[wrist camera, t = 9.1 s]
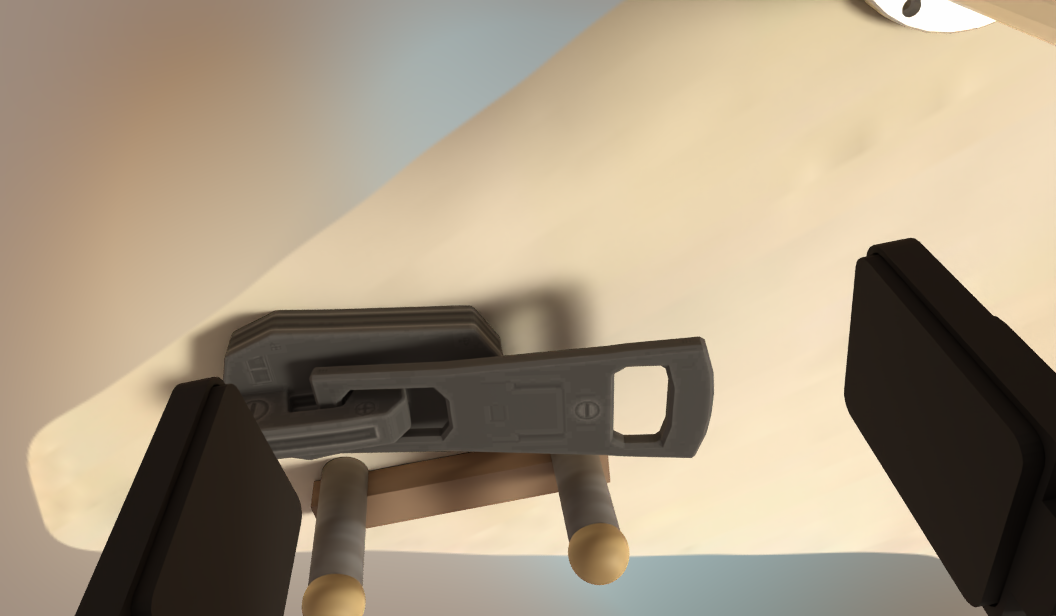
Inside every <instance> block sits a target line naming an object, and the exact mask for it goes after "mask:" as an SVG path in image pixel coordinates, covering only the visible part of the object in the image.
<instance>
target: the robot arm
mask: <svg viewBox="0 0 1056 616" xmlns="http://www.w3.org/2000/svg"><path fill="white" fill-rule="evenodd" d="M865 2H866V3H867V4H868V5H870V6H871V7H872V8H874V9H875V10H876V11H878V12H879V13H880V14H882V15H883V16H884V17H886V18H888V19H890V20H892V21H894V22H896V23H898V24H900V25H902V26H904V27H908V28H911V29H915V30H919V31H922V32H926V33H956V32H962V31H968V30H973V29H978V28H981V27H983V26H986V25H989V24H992V23H995V22H1000V23H1002V24H1004V25H1007V26H1009V27H1012V28H1014V29H1016V30H1019V31H1021V32H1024V33H1026V34H1028V35H1031V36H1033V37H1036V38H1038V39H1040V40H1043V41H1045V42H1048V43H1050V44H1052V45H1055V46H1056V0H865ZM903 4H904V5H903ZM844 397H845V402H846V406H847V409H848V412H849V414H850V415H851V417H852V419H853V420H854V422H855V424H856V425H857V427H858V428H859V430H860V432H861V433H862V435H863V436H864V438H865V440H866V441H867V443H868V444H869V446H870V448H871V449H872V451H873V452H874V454H875V456H876V457H877V459H878V461H879V462H880V464H881V465H882V467H883V469H884V470H885V472H886V473H887V475H888V477H889V478H890V480H891V481H892V483H893V485H894V486H895V488H896V489H897V491H898V493H899V494H900V496H901V497H902V499H903V501H904V502H905V504H906V505H907V507H908V509H909V510H910V512H911V513H912V515H913V517H914V518H915V520H916V521H917V523H918V525H919V526H920V528H921V529H922V531H923V533H924V534H925V536H926V537H927V539H928V541H929V542H930V544H931V546H932V547H933V549H934V550H935V552H936V554H937V555H938V557H939V558H940V560H941V561H942V563H943V565H944V566H945V568H946V570H947V571H948V573H949V574H950V576H951V578H952V579H953V581H954V582H955V584H956V586H957V587H958V589H959V590H960V592H961V593H962V595H963V597H964V598H965V599H966V601H967V602H968V603H970V605H972V606H974V607H979V606H983V608H984V610H985V611H986V613H987V614H988V616H1056V373H1055V372H1054V371H1053V370H1052V369H1051V368H1050V367H1049V366H1048V365H1047V364H1046V363H1045V362H1044V361H1043V360H1042V359H1041V358H1040V357H1039V356H1038V355H1037V354H1036V353H1035V352H1034V351H1033V350H1032V349H1031V348H1030V347H1029V346H1028V345H1027V344H1026V343H1025V342H1024V341H1023V340H1022V339H1021V338H1020V337H1019V336H1018V335H1017V334H1016V333H1015V332H1014V331H1013V330H1012V329H1011V328H1010V327H1009V326H1008V325H1007V324H1006V323H1005V322H1003V321H1002V320H1001V319H999V318H998V317H996V316H993V315H992V314H991V313H990V312H989V311H988V310H987V309H986V308H985V307H984V306H983V305H982V304H981V303H980V302H979V301H978V300H977V299H976V298H975V297H974V296H973V295H972V294H971V293H970V292H969V291H968V290H967V289H966V288H965V287H964V286H963V285H962V284H961V283H960V282H959V281H958V280H957V279H956V278H955V277H954V276H953V275H952V274H951V273H950V272H949V271H948V270H947V269H946V268H945V267H944V266H943V265H942V264H941V263H940V262H939V261H938V260H937V259H936V258H935V257H934V256H933V255H932V254H931V253H930V252H929V251H928V250H927V249H926V248H925V247H924V246H923V245H922V244H921V243H920V242H919V241H918V240H916V239H915V238H907V239H902V240H897V241H892V242H887V243H882V244H877V245H873V246H871V247H870V248H869V250H868V252H867V256H866V257H862V258H860V259H858V261H857V263H856V269H855V280H854V290H853V301H852V312H851V322H850V333H849V344H848V354H847V365H846V376H845V386H844ZM301 519H302V510H301V504H300V501H299V498H298V496H297V494H296V492H295V490H294V489H293V487H292V485H291V483H290V481H289V480H288V478H287V476H286V474H285V472H284V471H283V469H282V467H281V465H280V463H279V462H278V460H277V458H276V456H275V454H274V453H273V451H272V449H271V447H270V445H269V444H268V442H267V440H266V438H265V436H264V435H263V433H262V431H261V429H260V427H259V426H258V424H257V422H256V420H255V418H254V417H253V415H252V413H251V411H250V409H249V408H248V406H247V404H246V402H245V400H244V399H243V397H242V395H241V393H240V391H239V390H238V388H237V387H236V386H235V385H234V384H225V383H224V381H223V380H222V379H220V378H219V377H211V378H206V379H201V380H196V381H191V382H186V383H181V384H179V385H177V386H176V387H175V388H174V390H173V391H172V394H171V396H170V398H169V401H168V403H167V405H166V408H165V410H164V412H163V414H162V417H161V419H160V421H159V424H158V426H157V428H156V431H155V433H154V435H153V437H152V440H151V442H150V444H149V447H148V449H147V451H146V453H145V456H144V458H143V460H142V463H141V465H140V467H139V470H138V472H137V474H136V476H135V479H134V481H133V483H132V486H131V488H130V490H129V492H128V495H127V497H126V499H125V502H124V504H123V506H122V509H121V511H120V513H119V515H118V518H117V520H116V522H115V525H114V527H113V529H112V532H111V534H110V536H109V538H108V541H107V543H106V545H105V548H104V550H103V552H102V554H101V557H100V559H99V561H98V564H97V566H96V568H95V571H94V573H93V575H92V577H91V580H90V582H89V584H88V587H87V589H86V591H85V593H84V596H83V598H82V600H81V603H80V605H79V607H78V610H77V612H76V614H75V616H283V615H284V610H285V605H286V599H287V594H288V589H289V584H290V578H291V573H292V568H293V563H294V557H295V552H296V547H297V542H298V536H299V531H300V526H301Z"/></svg>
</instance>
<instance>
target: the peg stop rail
mask: <svg viewBox="0 0 1056 616" xmlns="http://www.w3.org/2000/svg"><path fill="white" fill-rule="evenodd" d="M609 482H610V473H609V462H608V455H579V454H543V453H506V452H469V453H464V454H459V455H453V456H448V457H443V458H437V459H432V460H427V461H421V462H416V463H411V464H405V465H400V466H394V467H389V468H384V469H378V470H373V471H368V468H367V466H366V465H365V464H364V463H363V462H361V461H360V460H358V459H355V458H350V457H341V458H336V459H333V460H331V461H329V462H328V463H327V464H326V465H325V466H324V467H323V470H322V476H321V480H319V481H314V486H313V494H312V502H311V509H312V511H313V513H314V515H315V517H316V525H315V534H314V542H313V550H312V558H311V567H310V575H309V583H308V588H307V589H306V591H305V593H304V596H303V600H302V613H303V616H362V615H363V612H364V609H365V593H364V590H363V587H362V586H363V567H364V549H365V531H366V528H371V527H376V526H382V525H387V524H392V523H397V522H403V521H408V520H413V519H419V518H424V517H429V516H434V515H440V514H445V513H450V512H456V511H461V510H466V509H471V508H477V507H482V506H487V505H493V504H498V503H503V502H509V501H514V500H519V499H524V498H530V497H535V496H540V495H546V494H551V493H556V492H559V496H560V501H561V506H562V511H563V515H564V520H565V525H566V530H567V534H568V539H569V547H568V557H569V561H570V564H571V567H572V569H573V570H574V572H575V573H576V574H577V575H578V576H579V577H580V578H581V579H583V580H584V581H586V582H588V583H591V584H594V585H604V584H609V583H611V582H613V581H615V580H617V579H618V578H619V577H620V576H621V575H622V574H623V572H624V571H625V569H626V567H627V564H628V561H629V547H628V543H627V540H626V538H625V536H624V535H623V534H622V532H621V531H620V528H619V525H618V521H617V518H616V514H615V511H614V507H613V503H612V500H611V496H610V493H609V489H608V486H607V483H609Z"/></svg>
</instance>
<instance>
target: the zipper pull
mask: <svg viewBox="0 0 1056 616" xmlns="http://www.w3.org/2000/svg"><path fill="white" fill-rule="evenodd" d="M660 365H661V366H662V367H664V368H666V371H667V375H668V391H667V405H666V417H665V419H664V421H663V424H662V426H661V429H660V431H659V432H657V433H656V434H644V435H622V434H620V433H618V432H616V431H614V430H613V414H614V374H615V373H616V372H618V371H620V370H622V369H624V368H625V367H632V366H660ZM223 381H224V383H225V384H234V385H235V386H236V387H237V388H238V390H239V391H240V393H241V395H242V397H243V399H244V400H245V402H246V404H247V406H248V408H249V409H250V411H251V413H252V415H253V417H254V418H255V420H256V422H257V424H258V426H259V427H260V429H261V431H262V433H263V435H264V436H265V438H266V440H267V442H268V444H269V445H270V447H271V449H272V451H273V453H274V454H275V456H276V458H277V459H283V458H299V459H306V460H312V459H317V458H321V457H326V456H330V455H335V454H339V453H378V452H428V451H469V452H506V453H543V454H579V455H612V456H635V457H676V458H692V457H694V456H695V454H696V452H697V450H698V449H699V447H700V445H701V443H702V441H703V439H704V437H705V435H706V433H707V429H708V425H709V421H710V417H711V412H712V405H713V396H714V375H713V369H712V365H711V361H710V358H709V354H708V350H707V346H706V343H705V339H703V338H701V337H690V338H679V339H668V340H657V341H646V342H636V343H625V344H617V345H610V346H600V347H590V348H579V349H569V350H559V351H548V352H538V353H527V354H517V355H507V356H503V353H502V347H501V341H500V337H499V336H498V334H497V333H496V332H495V331H494V330H493V329H492V328H491V327H490V325H489V324H488V323H487V322H486V321H485V320H484V319H483V317H482V316H481V315H480V314H479V313H478V312H477V311H476V310H475V308H474V307H472V306H431V307H399V308H367V309H335V310H277V311H274V312H272V313H270V314H268V315H266V316H264V317H262V318H260V319H258V320H256V321H254V322H253V323H251V324H249V325H247V326H245V327H243V328H241V329H239V330H237V331H235V332H233V334H232V336H231V340H230V343H229V346H228V349H227V352H226V356H225V360H224V377H223Z"/></svg>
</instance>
